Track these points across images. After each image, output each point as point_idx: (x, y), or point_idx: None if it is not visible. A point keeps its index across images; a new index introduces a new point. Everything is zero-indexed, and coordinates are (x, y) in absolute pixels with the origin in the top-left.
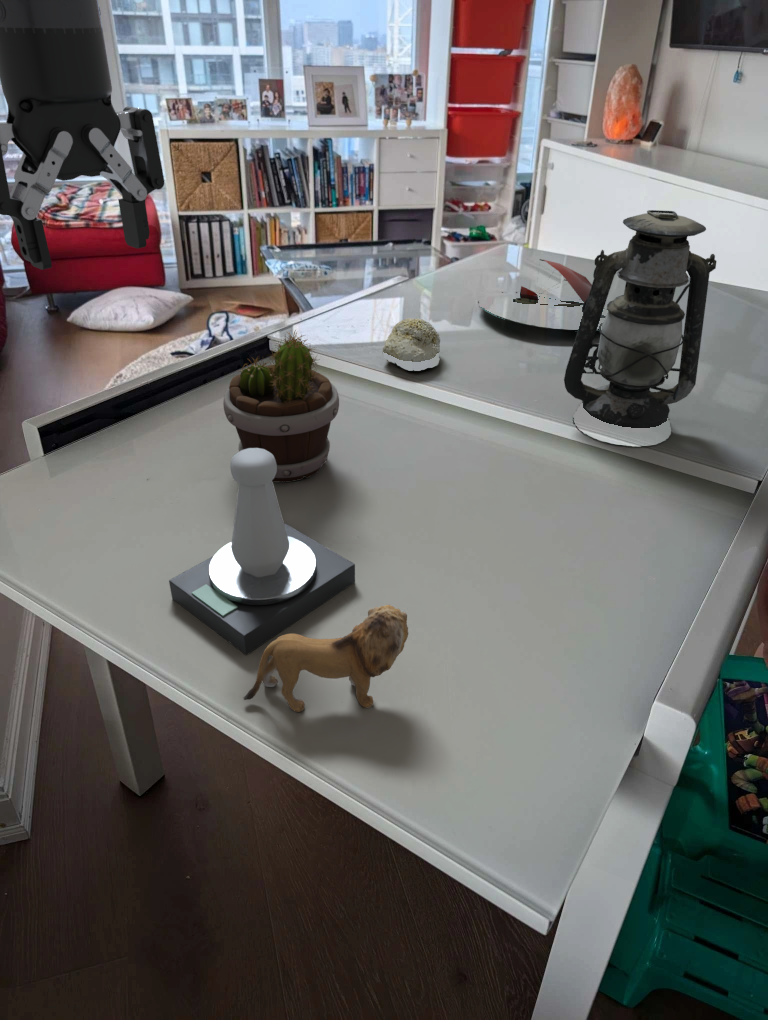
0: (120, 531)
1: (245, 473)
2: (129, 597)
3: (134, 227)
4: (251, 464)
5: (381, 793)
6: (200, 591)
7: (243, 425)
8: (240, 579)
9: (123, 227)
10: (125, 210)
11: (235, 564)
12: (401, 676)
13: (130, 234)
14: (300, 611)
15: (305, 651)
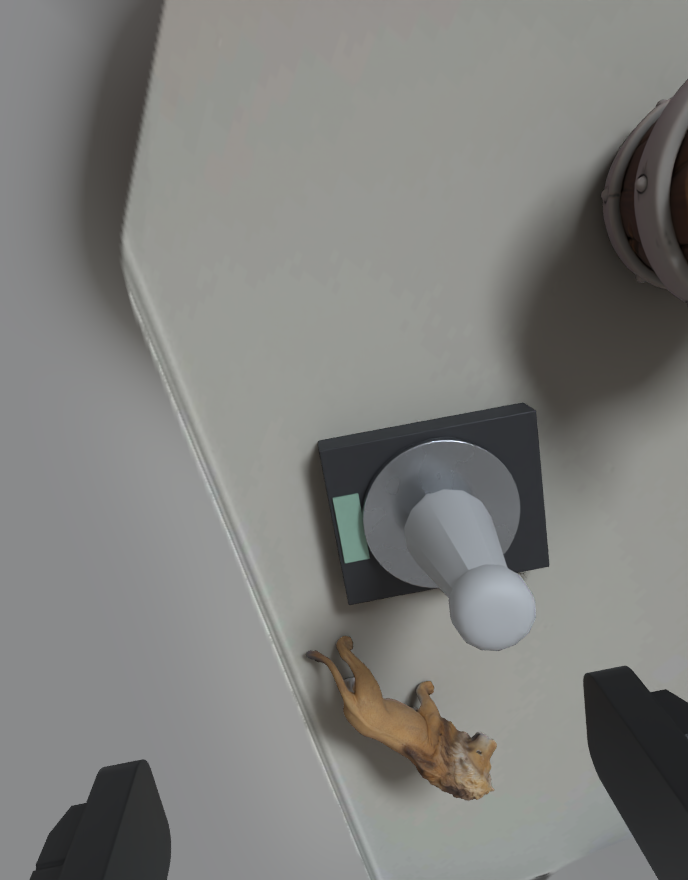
0: (322, 221)
1: (462, 637)
2: (268, 401)
3: (636, 823)
4: (480, 642)
5: (356, 794)
6: (343, 504)
7: (642, 229)
8: (398, 528)
9: (621, 722)
10: (679, 841)
11: (410, 494)
12: (467, 702)
13: (611, 752)
14: None
15: (373, 738)
